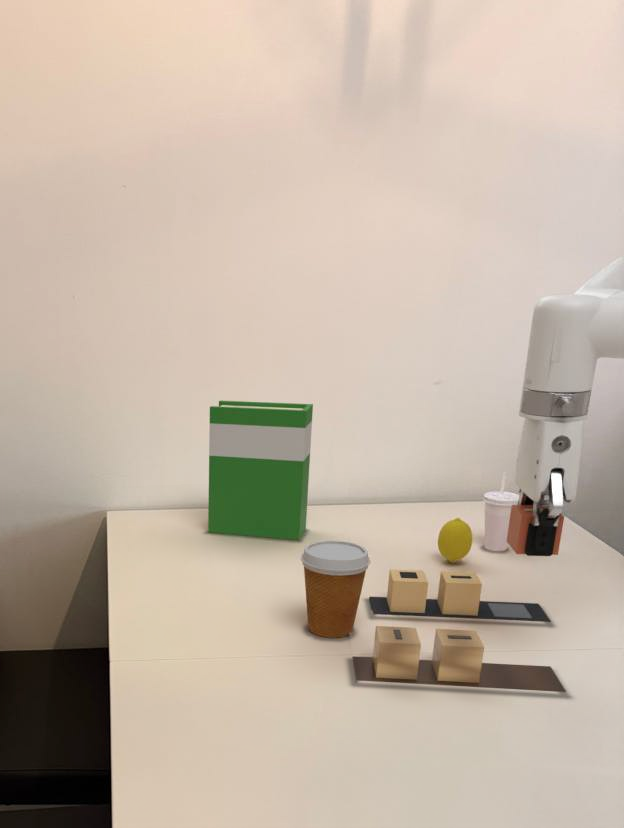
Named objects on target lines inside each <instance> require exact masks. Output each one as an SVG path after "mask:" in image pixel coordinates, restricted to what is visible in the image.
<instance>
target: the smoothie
mask: <svg viewBox="0 0 624 828" xmlns="http://www.w3.org/2000/svg"><path fill="white" fill-rule="evenodd" d="M507 473H508V472H507V470H503V471H502V478H501V485H500V491H498V490H497V491H495V490H494V491H488V492H485V493H484V494H483V498H482V500H483V502H484V548H485V549H486V550H488V551H494V552H504V551H507V548H508V545H509V544H508V543H507V534H508V527H509V520H510V513H511V506H512V505H517V504H518V499H519V495H520V494H517V493H514V492H510V491H505V486H506V480H507V479H506V478H507Z"/></svg>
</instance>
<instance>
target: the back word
mask: <svg viewBox="0 0 624 828" xmlns="http://www.w3.org/2000/svg"><path fill="white" fill-rule="evenodd" d="M428 588H429V581H428V578H427V575H426V573H425V571H424V570H421V569H420V570H418V569H395V568H394V569H391V568H389V572H388V581H387V592H386V596H369V598H368V599H369V603H370V608H371V611H372V614H373V615H381V616H382V615H383V616H384V615H385V616H403V617H404V616H406V617H425V618H426V617H430V618H431V617H432V618H451V619H475V620H493V621H494V620H495V621H497V620H499V621H518V622H541V623H542V622H543V623H552V620H551V619H550V618H549V617H548V616H549V615H547V613H546V612H545V611H544V609H543V608H542V606H541V604H539V603H536V602H534V603H533V602H513V601H512V602H511V601H509V602H508V601H489V600H488V601H486V600H481V593H482V588H483V583H482V581H481V580H480V578H479V576H478V575H477V573H476V572H475V571H451V570H450V571H449V570H448V571H447V570H445V571H444V570H441V571H440V573H439V582H438V590H437V591H438V592H437V598H428V597H427V596H428Z"/></svg>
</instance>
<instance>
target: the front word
mask: <svg viewBox="0 0 624 828" xmlns="http://www.w3.org/2000/svg"><path fill="white" fill-rule="evenodd" d="M434 633H435V634H434V640H433V641H434V642H433V648H432V657H431V659H420V655H421V646H422V642H421V641H420V637H419V633H418V631H417V627H408V626H386V625H375V632H374V641H373V653H372V657H371V656H352V665H353V671H354V678H355V683H356V684H357V682H358V681H359V682H374V683H378V682H379V683H392V684H393V683H394V684H410V685H411V684H412V685H429V686H430V685H431V686H446V687H447V686H449V687H463V688H464V687H467V688H483V689H502V690H517V691H518V690H522V691H536V692H537V691H538V692H555V693H557V692H558V693H559V692H560V693H567V690H566V689H565V687H564V686H563V684H562V682H561V680H559V677H558V676H557V675H556V673H555V671H554V670H553V668H552V666H550V665H549V666H548V665H530V664H529V665H528V664H510V663H492V662H491V663H490V662H483V657H484V653H485V652H484V651H485V645H484V643H483V642H482V639H481V638H480V636H479V633H478V632H477V630H473V629H472V630H471V629H470V630H469V629H452V628H451V629H447V628H435V632H434Z"/></svg>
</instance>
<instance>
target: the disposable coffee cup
mask: <svg viewBox="0 0 624 828" xmlns="http://www.w3.org/2000/svg"><path fill="white" fill-rule="evenodd" d="M300 561H301V563H302V566H303V571H304V572H303V573H304V583H305V584H304V587H305V597H306V598H305V602H306V615H307V628H308V631H309V632H310V633H312V634H314V635H316V636H319V637H323V638H330V639H331V638H334V639H336V638H337V639H338V638H343V637H347V636H350V633H352V632H353V630H354V627H355V621H356V617H357V613H358V608H359V603H360V599H361V595H362V590H363V587H364V586H363V585H364V581H365V576H366V572H367V570H368V568H369V566H370V564H371V558H370V557H369V551H368V549H367V548H365V547H364V546H363V545H360V544H358V543H355V542H350V541H345V540H344V541H343V540H321V541H315V542H314V541H313V542H311V543H309V544H307V545H306V546H305V547H304V550H303V552H302V553H301V555H300Z"/></svg>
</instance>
